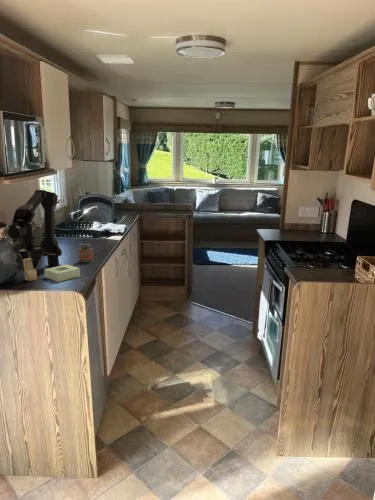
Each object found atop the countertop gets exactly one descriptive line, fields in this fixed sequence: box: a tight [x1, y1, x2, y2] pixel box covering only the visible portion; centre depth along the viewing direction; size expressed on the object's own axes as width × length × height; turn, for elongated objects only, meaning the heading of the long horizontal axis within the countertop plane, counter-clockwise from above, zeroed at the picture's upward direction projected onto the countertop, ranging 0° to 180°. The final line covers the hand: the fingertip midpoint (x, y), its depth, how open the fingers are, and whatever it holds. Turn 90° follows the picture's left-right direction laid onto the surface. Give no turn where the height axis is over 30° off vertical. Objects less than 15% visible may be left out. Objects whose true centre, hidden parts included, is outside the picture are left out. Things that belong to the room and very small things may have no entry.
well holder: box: [44, 264, 81, 283], centre depth 187 cm, size 12×12×4 cm
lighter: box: [77, 243, 94, 263], centre depth 216 cm, size 8×3×10 cm, turn 92°
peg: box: [22, 257, 38, 282], centre depth 183 cm, size 4×4×10 cm
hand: (30, 266), depth 183 cm, fingers open, 9 cm apart
